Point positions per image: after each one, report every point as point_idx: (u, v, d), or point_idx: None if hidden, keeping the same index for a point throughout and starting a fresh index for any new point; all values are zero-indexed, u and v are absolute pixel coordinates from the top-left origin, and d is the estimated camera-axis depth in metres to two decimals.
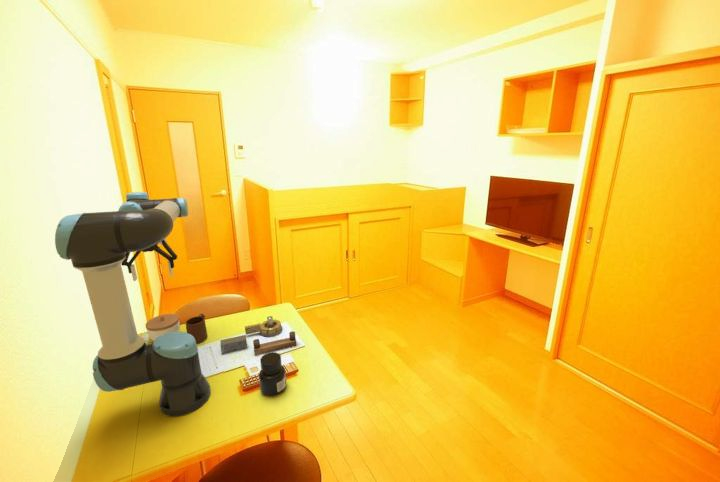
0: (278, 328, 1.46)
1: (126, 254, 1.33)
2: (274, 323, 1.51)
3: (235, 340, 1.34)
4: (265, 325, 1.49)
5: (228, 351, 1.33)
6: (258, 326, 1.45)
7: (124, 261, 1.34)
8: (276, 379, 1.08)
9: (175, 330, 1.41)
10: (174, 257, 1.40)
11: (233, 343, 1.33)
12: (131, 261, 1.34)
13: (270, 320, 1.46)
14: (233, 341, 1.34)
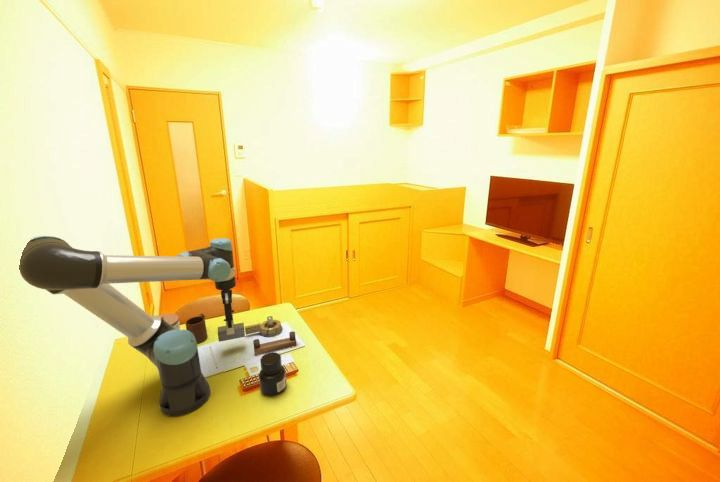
0: (278, 328, 1.46)
1: None
2: (274, 323, 1.51)
3: None
4: (265, 325, 1.49)
5: (225, 338, 1.31)
6: (258, 326, 1.45)
7: None
8: (276, 379, 1.08)
9: None
10: (225, 319, 1.26)
11: None
12: None
13: (270, 320, 1.46)
14: None
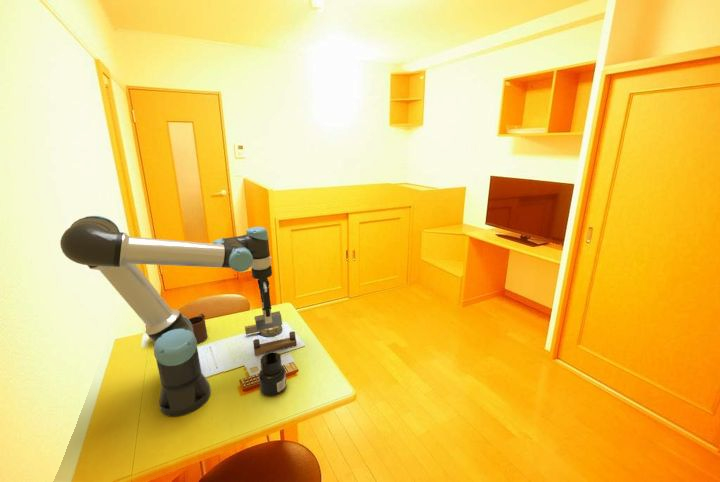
0: (278, 328, 1.46)
1: None
2: None
3: None
4: None
5: (263, 327, 1.31)
6: None
7: None
8: (276, 379, 1.08)
9: None
10: (264, 307, 1.25)
11: None
12: (261, 297, 1.32)
13: None
14: None
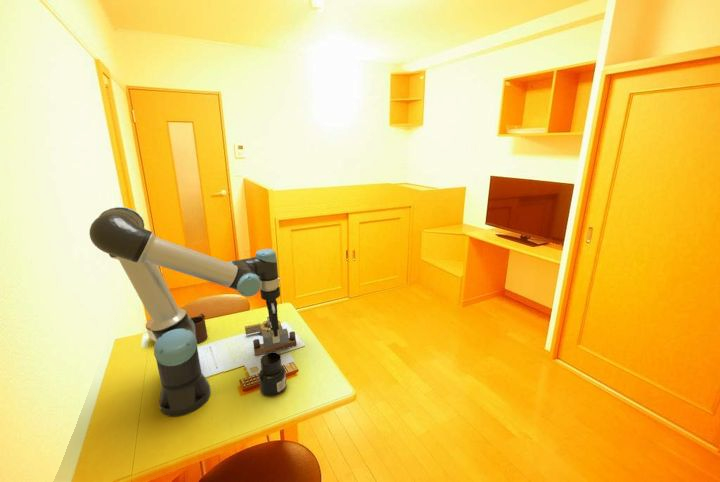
0: None
1: None
2: None
3: None
4: (265, 325, 1.49)
5: (270, 344, 1.32)
6: (258, 326, 1.45)
7: None
8: (276, 379, 1.08)
9: None
10: (272, 328, 1.28)
11: None
12: (269, 317, 1.34)
13: None
14: None
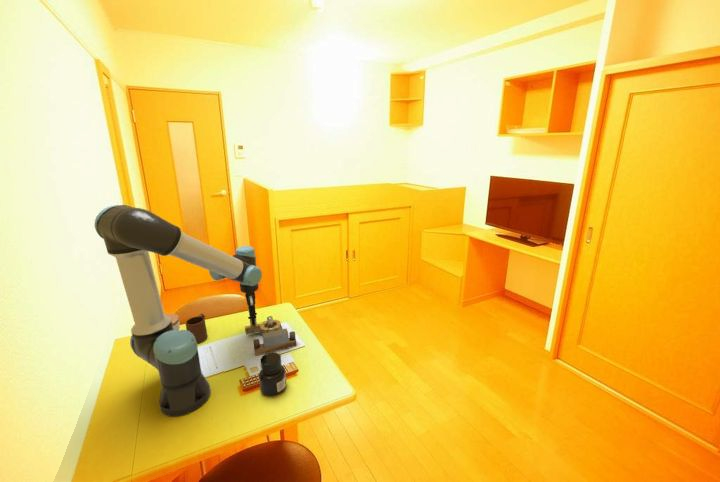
0: (278, 328, 1.46)
1: None
2: (274, 323, 1.51)
3: (277, 334, 1.33)
4: (265, 325, 1.49)
5: (270, 344, 1.32)
6: (258, 326, 1.45)
7: None
8: (276, 379, 1.08)
9: None
10: (250, 317, 1.42)
11: (275, 336, 1.32)
12: None
13: (270, 320, 1.46)
14: (275, 334, 1.33)
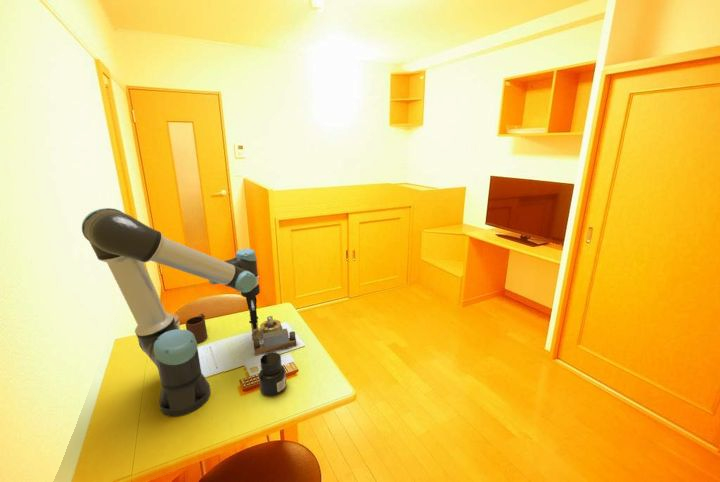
0: (280, 324, 1.49)
1: None
2: None
3: (277, 334, 1.33)
4: None
5: (270, 344, 1.32)
6: (263, 329, 1.43)
7: None
8: (276, 379, 1.08)
9: None
10: (251, 321, 1.37)
11: (275, 336, 1.32)
12: (250, 315, 1.40)
13: (270, 320, 1.46)
14: (275, 334, 1.33)
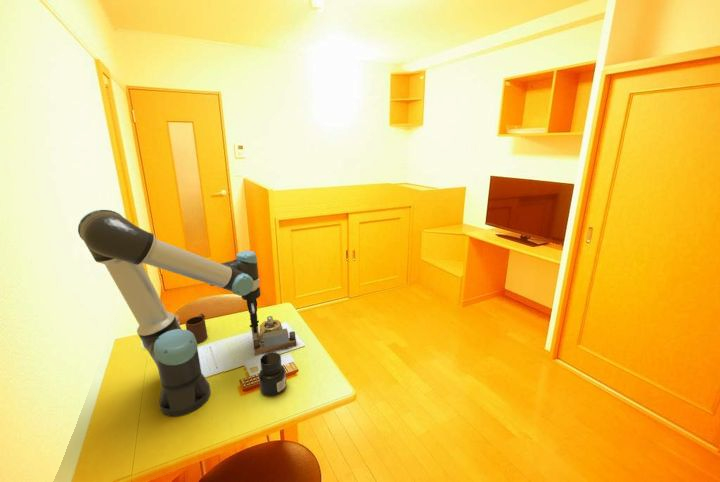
0: None
1: None
2: None
3: (277, 334, 1.33)
4: None
5: (270, 344, 1.32)
6: (266, 329, 1.43)
7: None
8: (276, 379, 1.08)
9: None
10: (251, 325, 1.34)
11: (275, 336, 1.32)
12: (250, 318, 1.38)
13: (270, 320, 1.46)
14: (275, 334, 1.33)
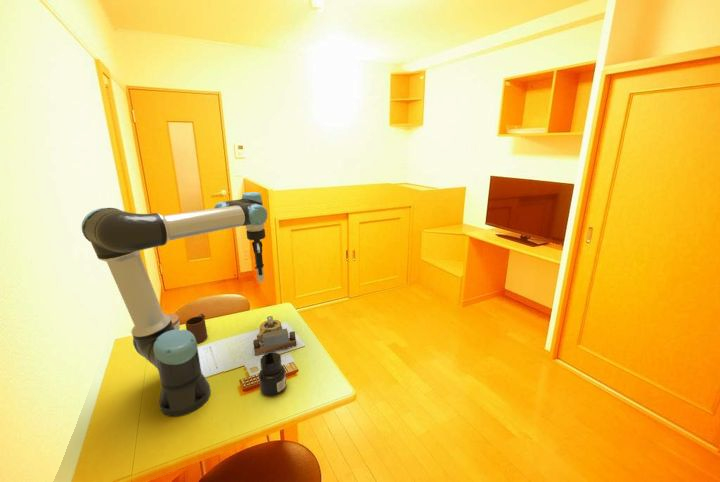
0: None
1: None
2: None
3: (277, 334, 1.33)
4: None
5: (270, 344, 1.32)
6: (266, 329, 1.43)
7: (255, 259, 1.43)
8: (276, 379, 1.08)
9: None
10: (256, 266, 1.38)
11: (275, 336, 1.32)
12: None
13: (270, 320, 1.46)
14: (275, 334, 1.33)
